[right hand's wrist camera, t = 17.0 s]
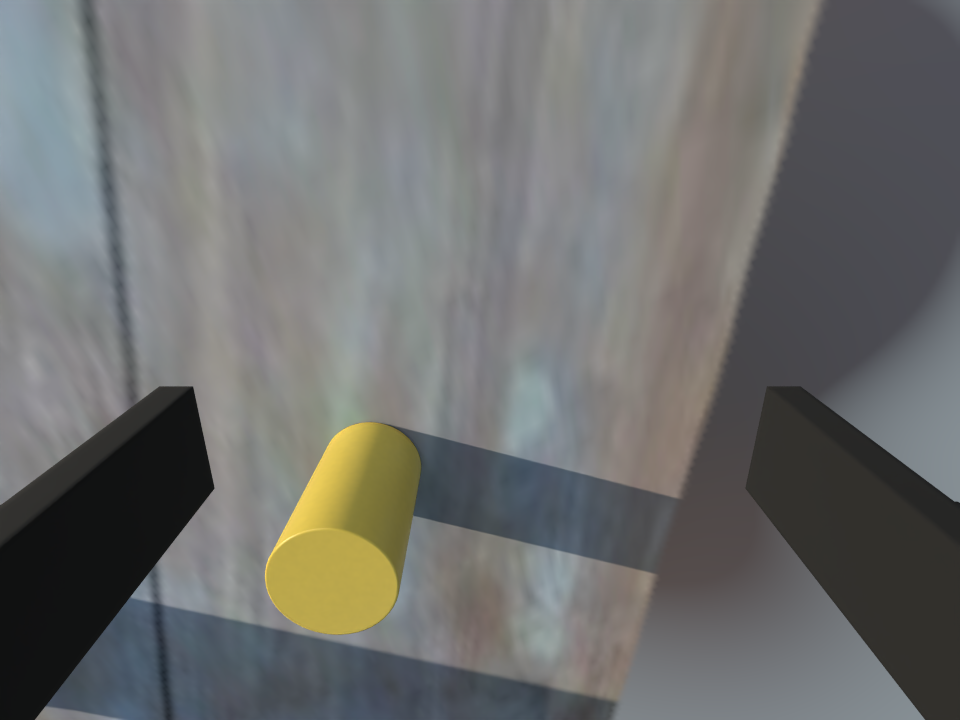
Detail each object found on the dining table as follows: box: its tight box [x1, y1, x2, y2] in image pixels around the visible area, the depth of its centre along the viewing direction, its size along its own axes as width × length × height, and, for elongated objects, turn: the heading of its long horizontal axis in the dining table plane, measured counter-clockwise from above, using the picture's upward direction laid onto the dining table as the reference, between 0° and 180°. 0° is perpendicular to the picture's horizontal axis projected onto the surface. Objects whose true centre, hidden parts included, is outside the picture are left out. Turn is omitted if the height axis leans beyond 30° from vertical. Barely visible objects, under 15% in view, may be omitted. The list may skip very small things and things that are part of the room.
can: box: [265, 422, 421, 635], centre depth 28 cm, size 6×6×10 cm
